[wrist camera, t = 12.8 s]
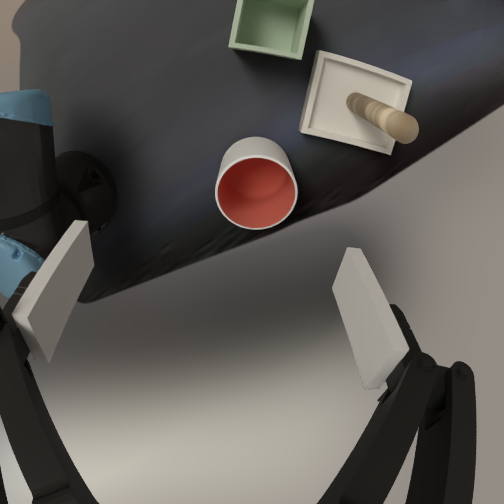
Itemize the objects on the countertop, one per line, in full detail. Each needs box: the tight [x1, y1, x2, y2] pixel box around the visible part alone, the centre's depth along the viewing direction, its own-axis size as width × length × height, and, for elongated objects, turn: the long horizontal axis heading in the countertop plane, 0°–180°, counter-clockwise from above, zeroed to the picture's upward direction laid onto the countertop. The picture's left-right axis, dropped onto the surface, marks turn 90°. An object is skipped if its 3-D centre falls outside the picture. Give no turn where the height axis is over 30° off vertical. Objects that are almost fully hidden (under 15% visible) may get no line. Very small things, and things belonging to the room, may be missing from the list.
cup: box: [215, 137, 298, 230], centre depth 42 cm, size 10×10×10 cm
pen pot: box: [229, 0, 314, 60], centre depth 31 cm, size 8×8×8 cm
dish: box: [298, 50, 412, 155], centre depth 39 cm, size 14×12×2 cm
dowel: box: [346, 92, 419, 144], centre depth 33 cm, size 3×3×16 cm
